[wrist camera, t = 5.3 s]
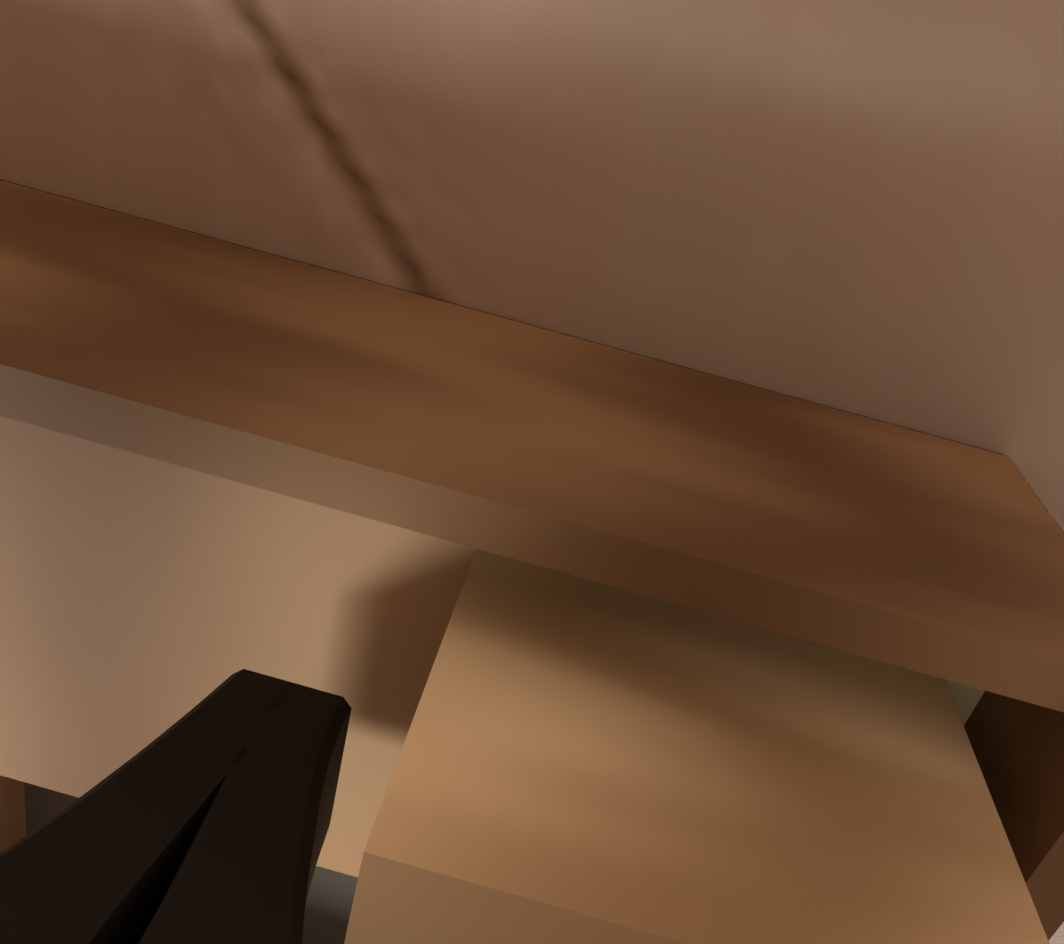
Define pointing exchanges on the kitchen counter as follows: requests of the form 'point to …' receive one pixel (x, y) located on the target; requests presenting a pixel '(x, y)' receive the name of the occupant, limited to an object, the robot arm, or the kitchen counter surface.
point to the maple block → (676, 787)
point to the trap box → (444, 516)
